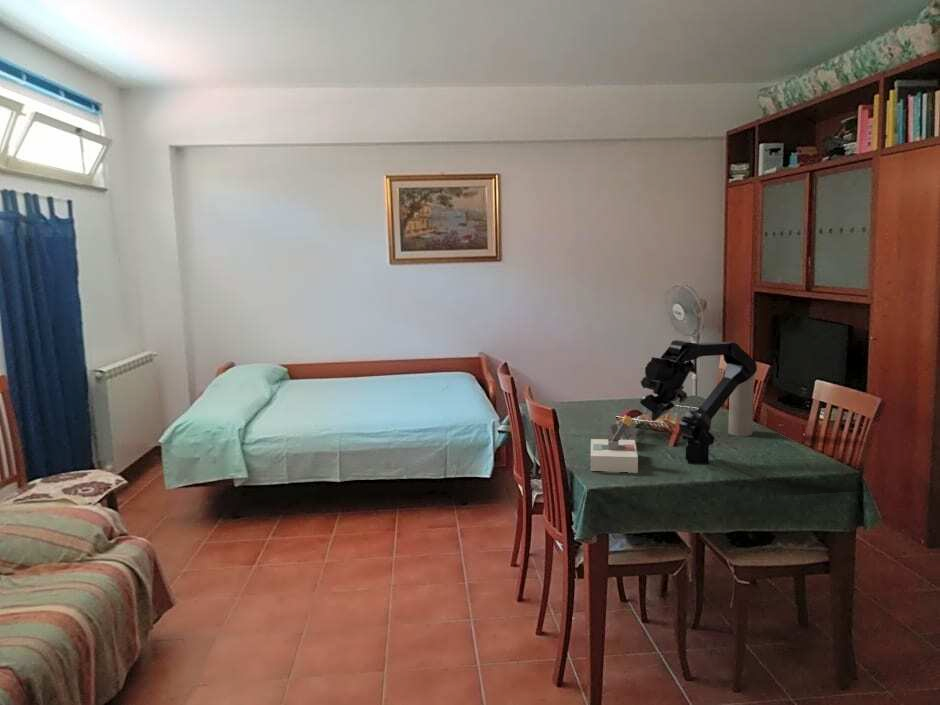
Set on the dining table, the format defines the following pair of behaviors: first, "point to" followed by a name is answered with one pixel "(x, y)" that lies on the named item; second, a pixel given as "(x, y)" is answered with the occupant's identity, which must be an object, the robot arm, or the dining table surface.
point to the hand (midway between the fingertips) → (653, 420)
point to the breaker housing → (614, 455)
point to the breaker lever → (622, 428)
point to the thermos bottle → (741, 409)
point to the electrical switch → (628, 433)
